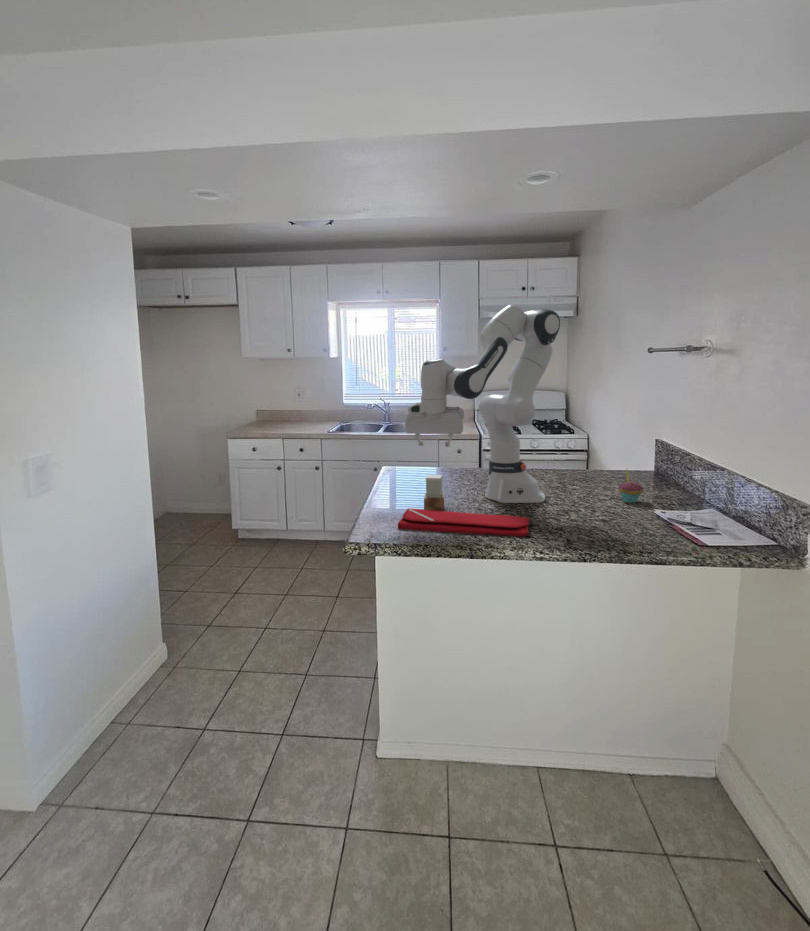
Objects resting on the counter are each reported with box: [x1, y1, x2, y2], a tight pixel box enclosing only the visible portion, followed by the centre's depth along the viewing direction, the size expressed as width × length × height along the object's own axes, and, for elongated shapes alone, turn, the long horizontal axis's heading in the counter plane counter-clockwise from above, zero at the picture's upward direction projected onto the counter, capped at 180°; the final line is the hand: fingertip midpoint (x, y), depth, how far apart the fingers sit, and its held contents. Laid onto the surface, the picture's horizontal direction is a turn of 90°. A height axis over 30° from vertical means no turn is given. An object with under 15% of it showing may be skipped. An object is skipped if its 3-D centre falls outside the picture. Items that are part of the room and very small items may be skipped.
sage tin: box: [425, 474, 443, 498], centre depth 197 cm, size 5×5×7 cm
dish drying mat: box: [397, 507, 530, 537], centre depth 180 cm, size 16×41×4 cm, turn 77°
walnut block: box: [423, 492, 445, 511], centre depth 199 cm, size 7×7×5 cm
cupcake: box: [618, 469, 644, 504], centre depth 204 cm, size 9×8×12 cm
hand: (434, 446), depth 194 cm, fingers open, 8 cm apart
